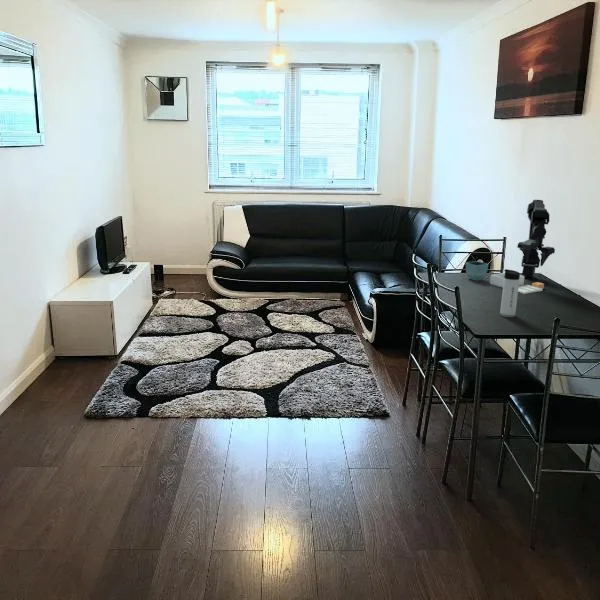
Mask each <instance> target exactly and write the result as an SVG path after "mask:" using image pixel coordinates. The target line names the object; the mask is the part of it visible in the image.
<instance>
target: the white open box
mask: <svg viewBox="0 0 600 600" xmlns="http://www.w3.org/2000/svg"><path fill="white" fill-rule="evenodd" d="M504 276H505V272H501V273H494V274H490V276H489V277H490V278H489V285H491V286H494V287H498V288H502V289H503V284H504ZM524 282H525V278H524V276H522V274H520V278H519V286H521V285H525V284H524Z"/></svg>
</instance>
